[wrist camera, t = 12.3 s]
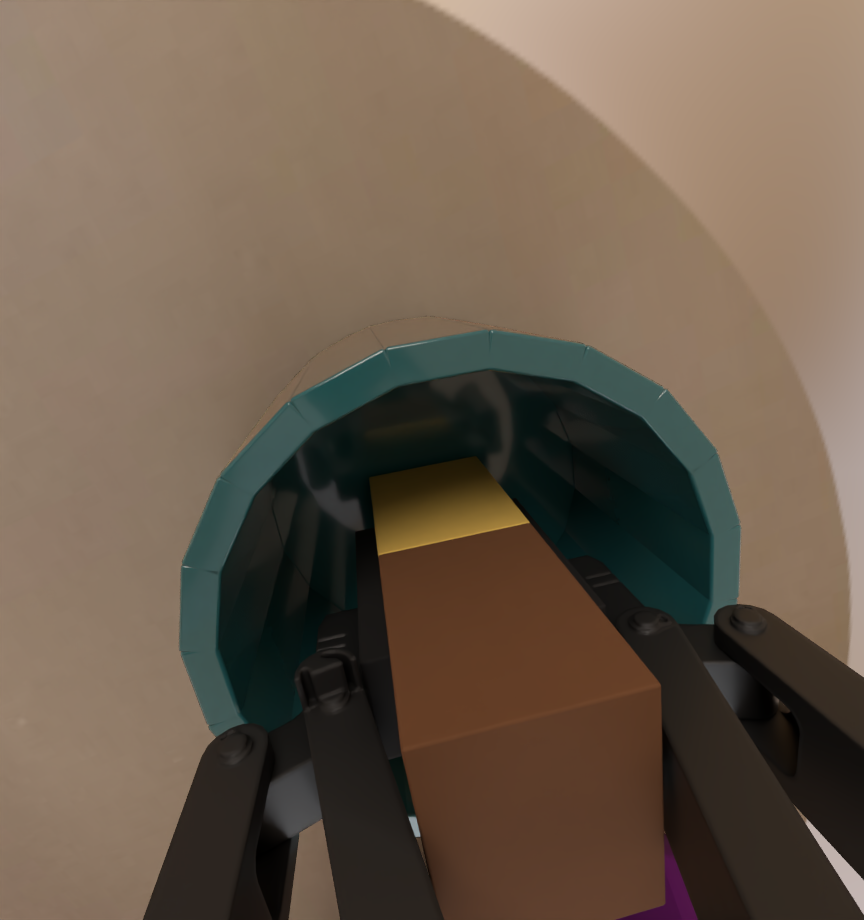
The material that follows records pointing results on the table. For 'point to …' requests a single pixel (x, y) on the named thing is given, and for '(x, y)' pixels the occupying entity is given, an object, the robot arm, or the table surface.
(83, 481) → the table surface
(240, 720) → the teal hollow cylinder
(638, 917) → the perfume bottle
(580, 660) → the sponge
